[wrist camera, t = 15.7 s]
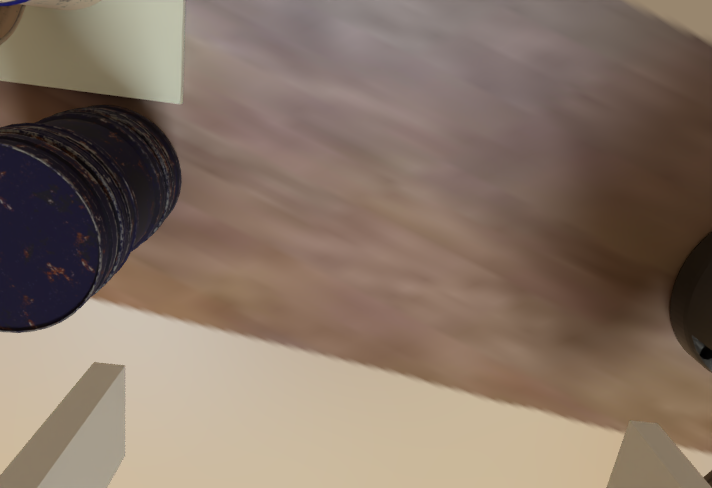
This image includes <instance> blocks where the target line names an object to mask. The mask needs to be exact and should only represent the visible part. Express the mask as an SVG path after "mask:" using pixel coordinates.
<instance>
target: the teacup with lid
mask: <svg viewBox="0 0 712 488" xmlns="http://www.w3.org/2000/svg"><path fill="white" fill-rule="evenodd" d="M100 1H101V0H0V45H1V44H3V43H4V42H5V41H6V40H7V39H8V38H9V37H10V36H11V35H12V34H13V32H14V31H15V30H16V28H17V26H18V24H19V22H20V20H21V18H22V15H23V13H24V10H25V7H26V5H27V6H35V7H43V8H51V9H59V10H77V9H83V8H86V7H90V6H92V5H94V4H96V3H98V2H100Z"/></svg>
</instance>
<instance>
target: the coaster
mask: <svg viewBox="0 0 712 488" xmlns="http://www.w3.org/2000/svg"><path fill="white" fill-rule="evenodd" d="M185 4H186V0H101V1H100V2H98V3H96V4H94V5H92V6H90V7H86V8H83V9H77V10H59V9H51V8H43V7H35V6H27V5H26V7H25V10H24V13H23V15H22V18H21V20H20V22H19V24H18V26H17V28H16V30H15V31H14V32H13V34H12V35H11V36H10V37H9V38H8V39H7V40H6V41H5V42H4V43H3V44H1V45H0V81H7V82H14V83H22V84H29V85H37V86H45V87H52V88H60V89H68V90H75V91H83V92H91V93H98V94H106V95H113V96H121V97H129V98H136V99H144V100H152V101H159V102H167V103H175V104H182V103H183V73H184V39H185Z"/></svg>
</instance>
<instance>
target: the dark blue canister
mask: <svg viewBox="0 0 712 488" xmlns="http://www.w3.org/2000/svg"><path fill="white" fill-rule="evenodd" d="M180 189H181V169H180V164H179V160H178V158H177V155H176V152H175V150H174V148H173V146H172V145H171V143H170V141H169V140H168V138H167V137H166V136H165V134H164V133H163V132H162V131H161V130H160V129H159V128H158V127H157V126H156V125H155V124H154V123H152V122H151V121H150V120H148V119H147V118H145V117H144V116H142V115H140V114H138V113H136V112H134V111H131V110H129V109H126V108H122V107H118V106H110V105H98V106H91V107H87V108H77V109H72V110H68V111H64V112H60V113H57V114H55V115H52V116H50V117H48V118H44V119H42V120H40V121H38V122H36V123H22V124H12V125H8V126H5V127H1V128H0V332H14V333H21V332H30V331H37V330H41V329H45V328H48V327H51V326H53V325H56V324H58V323H60V322H62V321H64V320H65V319H67V318H68V317H70V316H71V315H73V314H74V313H75V312H76V311H77V310H78V309H79V308H81V307H82V306H83V305H84V303H86V302H87V300H88V299H89V298H90V297H91V296H93V295H94V294H96V293H97V292H98V291H99V290H100V289H101V288H102V287H103V286H104V285H105V284H106V283H107V282H108V281H109V280H110V279H111V278H112V277H113V275H114V274H115V273H117V272H118V271H119V270H120V268H121V267H122V266H123V264H124V263H125V262H126V260H127V258H128V256H129V254H130V252H131V251H133V250H134V249H136V248H137V247H138V246H139V245H140V244H142V243H143V242H145V241H146V240H147V239H148V238H149V237H150V236H152V235H153V234H154V233H155V232H156V231H157V230H158V228H159V227H160V226H161V224H162V223H163V222H164V220H165V219H166V218H167V217H168V215H169V214H170V213H171V211H172V210H173V208H174V206H175V205H176V203H177V200H178V197H179V194H180Z"/></svg>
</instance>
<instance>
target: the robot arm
mask: <svg viewBox="0 0 712 488" xmlns="http://www.w3.org/2000/svg"><path fill="white" fill-rule="evenodd" d="M670 314H671V322H672V327H673V330H674V333H675V335H676V337H677V339H678V341H679V343H680V344H681V346H682V347H683V348H684V350H685V351H686V352H687V353H688V354H689V355H691V356H692V357H693V358H694V359H695V360H696V361H697V362H699V363H700V364H701V365H702V366H703V367H704V368H706V369H707V370H708V371H710V372H711V373H712V232H711V233H710V234H709V235H708V236H707V237H706V238H705V239H703V240H702V242H701V243H700V244H699V245H698V246H697V247H696V248H695V249H694V250H693V252H692V253H691V254H690V256H689V257H688V259H687V260H686V262H685V263H684V265H683V267H682V268H681V270H680V272H679V275H678V277H677V279H676V282H675V285H674V288H673V292H672V297H671V306H670ZM124 456H125V366H124V365H115V364H106V363H97V362H94V363H93V364H92V365H91V367H90V368H89V369H88V371H87V372H86V373H85V374H84V375H83V376H82V378H81V379H80V380H79V381H78V382H77V383H76V385H75V386H74V387H73V388H72V390H71V391H70V392H69V393H68V394H67V396H66V397H65V398H64V399H63V400H62V402H61V403H60V404H59V405H58V406H57V408H56V409H55V410H54V411H53V413H52V414H51V415H50V416H49V417H48V418H47V420H46V421H45V422H44V423H43V425H42V426H41V427H40V428H39V429H38V430H37V432H36V433H35V434H34V435H33V437H32V438H31V439H30V440H29V441H28V443H27V444H26V445H25V446H24V447H23V449H22V450H21V451H20V452H19V454H18V455H17V456H16V457H15V458H14V460H13V461H12V462H11V463H10V464H9V466H8V467H7V468H6V469H5V470H4V472H3V473H2V474H1V475H0V488H107V487H108V485H109V483H110V481H111V480H112V478H113V476H114V474H115V473H116V471H117V469H118V467H119V465H120V464H121V462H122V460H123V458H124ZM607 488H712V471H711V472H709V473H708V474H707V475H706V476H704V477H702V476H701V474H700V473H699V472H698V471H697V469H696V468H695V467H694V466H693V465H692V464H691V462H690V461H689V460H688V459H687V458H686V456H685V455H684V454H683V453H682V452H681V450H680V449H679V448H678V447H677V446H676V445H675V443H674V442H673V441H672V440H671V439H670V437H669V436H668V435H667V434H666V433H665V431H664V430H663V429H662V428H661V427H660V426H659V424H658V423H649V422H640V421H631V420H630V421H629V424H628V427H627V430H626V433H625V436H624V439H623V441H622V444H621V447H620V450H619V453H618V456H617V459H616V462H615V465H614V467H613V471H612V473H611V476H610V479H609V482H608V485H607Z"/></svg>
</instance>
